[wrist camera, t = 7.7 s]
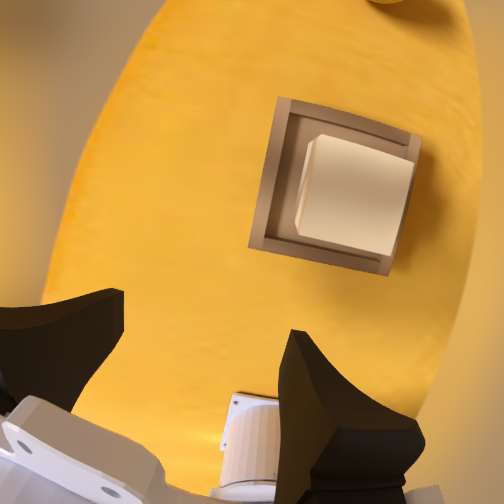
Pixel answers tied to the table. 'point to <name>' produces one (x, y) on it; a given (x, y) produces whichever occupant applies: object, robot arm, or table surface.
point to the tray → (289, 176)
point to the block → (351, 195)
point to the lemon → (386, 1)
